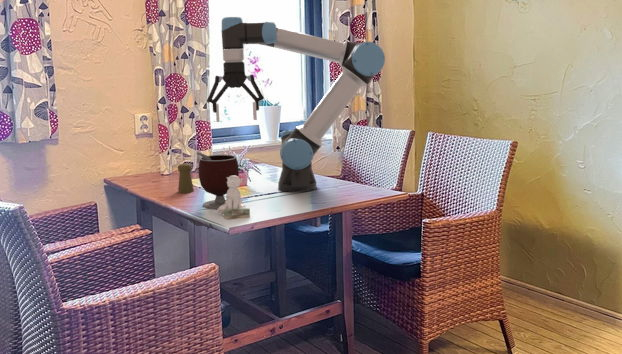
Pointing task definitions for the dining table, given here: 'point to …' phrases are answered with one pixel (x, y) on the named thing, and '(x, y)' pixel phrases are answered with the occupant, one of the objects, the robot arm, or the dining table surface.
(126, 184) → the dining table surface
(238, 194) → the seated beast figurine
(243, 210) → the green brown flat box
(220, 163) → the mate gourd
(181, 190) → the cork
